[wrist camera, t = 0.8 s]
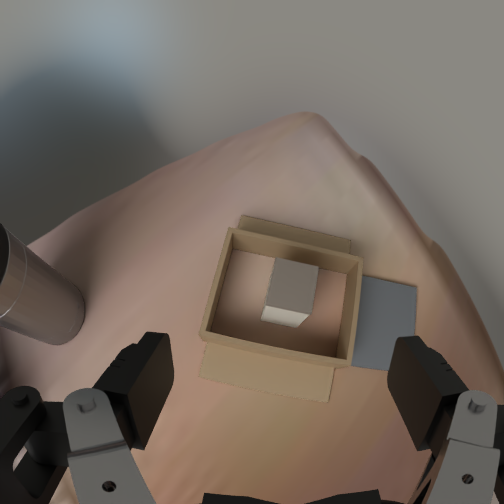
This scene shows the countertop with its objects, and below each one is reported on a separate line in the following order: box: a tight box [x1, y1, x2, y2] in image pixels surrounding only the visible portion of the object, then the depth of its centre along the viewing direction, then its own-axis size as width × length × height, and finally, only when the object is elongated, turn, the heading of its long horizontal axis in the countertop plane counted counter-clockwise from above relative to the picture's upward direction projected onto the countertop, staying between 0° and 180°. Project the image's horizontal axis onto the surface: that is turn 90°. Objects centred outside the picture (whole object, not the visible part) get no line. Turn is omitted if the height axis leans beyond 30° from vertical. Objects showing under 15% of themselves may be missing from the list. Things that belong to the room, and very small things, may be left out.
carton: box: [199, 215, 363, 403], centre depth 37 cm, size 17×22×4 cm
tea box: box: [261, 257, 319, 328], centre depth 35 cm, size 5×5×8 cm
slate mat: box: [351, 276, 417, 371], centre depth 38 cm, size 9×12×1 cm
